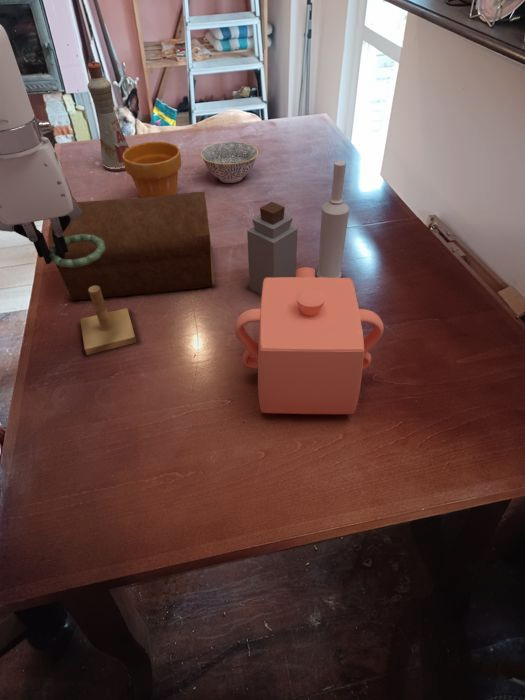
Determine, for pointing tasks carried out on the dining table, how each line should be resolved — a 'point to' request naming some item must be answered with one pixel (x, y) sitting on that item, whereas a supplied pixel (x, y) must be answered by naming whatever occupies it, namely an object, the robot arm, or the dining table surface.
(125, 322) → the stand
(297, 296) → the teapot
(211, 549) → the dining table surface
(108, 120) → the bottle
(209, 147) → the bowl
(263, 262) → the perfume bottle
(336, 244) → the bottle
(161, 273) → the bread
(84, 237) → the ring
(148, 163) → the flower pot
